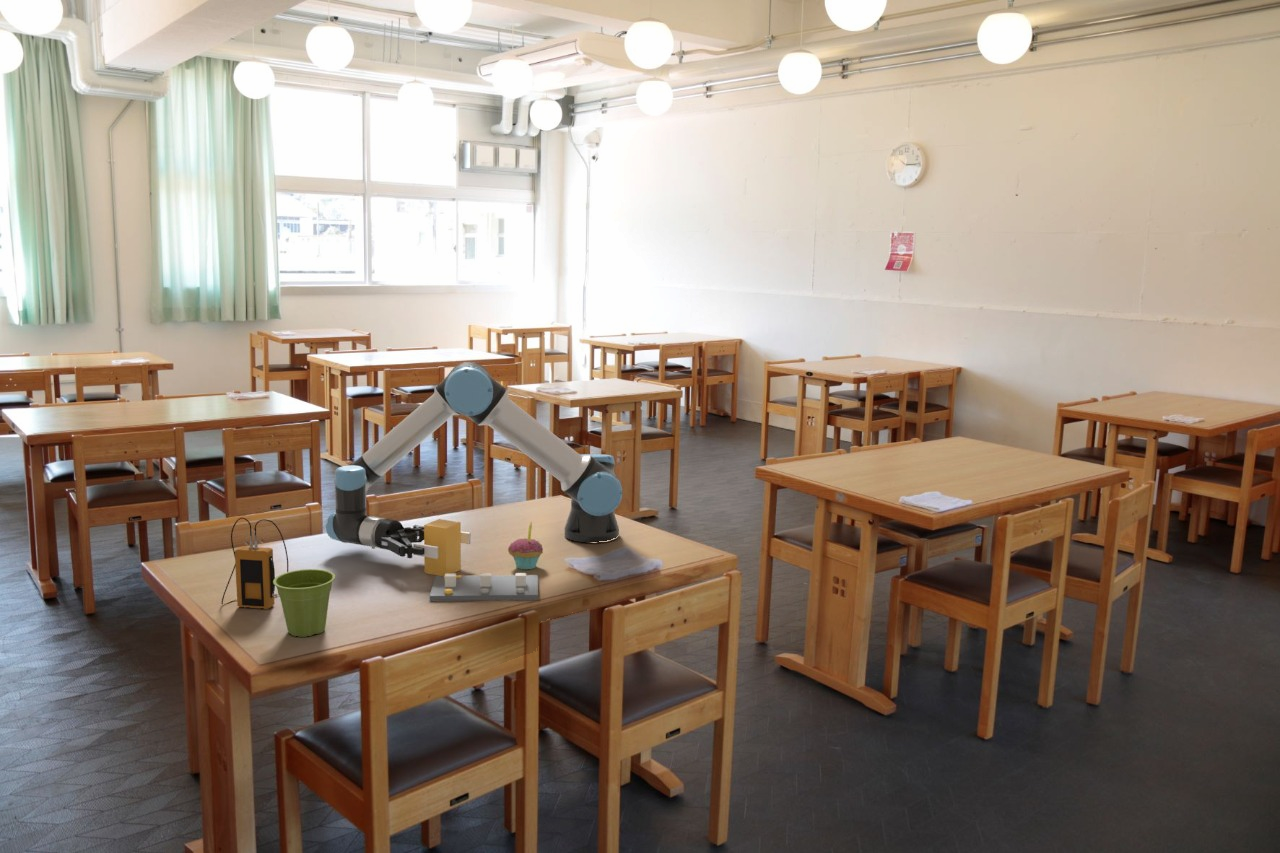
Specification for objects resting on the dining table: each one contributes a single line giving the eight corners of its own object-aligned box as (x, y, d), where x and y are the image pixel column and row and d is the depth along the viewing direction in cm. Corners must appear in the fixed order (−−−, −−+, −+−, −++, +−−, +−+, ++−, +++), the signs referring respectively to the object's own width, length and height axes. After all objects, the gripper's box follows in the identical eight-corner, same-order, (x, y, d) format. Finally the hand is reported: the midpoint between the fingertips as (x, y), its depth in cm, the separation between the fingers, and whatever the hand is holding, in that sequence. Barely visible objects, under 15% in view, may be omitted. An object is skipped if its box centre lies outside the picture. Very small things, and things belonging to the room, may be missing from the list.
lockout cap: (439, 565, 245) (439, 518, 243) (460, 569, 243) (460, 522, 241) (424, 572, 240) (424, 524, 238) (446, 576, 237) (445, 528, 235)
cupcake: (549, 567, 247) (550, 520, 245) (523, 574, 241) (524, 526, 238) (527, 559, 252) (527, 513, 250) (501, 566, 246) (501, 519, 244)
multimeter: (305, 595, 222) (302, 509, 219) (285, 611, 212) (282, 521, 209) (242, 591, 223) (239, 505, 220) (220, 607, 214) (215, 517, 210)
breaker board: (537, 579, 237) (537, 564, 236) (538, 599, 223) (538, 584, 223) (435, 580, 234) (435, 565, 234) (429, 601, 221) (429, 585, 220)
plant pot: (273, 624, 205) (271, 572, 203) (333, 617, 209) (331, 566, 207) (277, 645, 194) (274, 590, 192) (339, 637, 199) (338, 584, 197)
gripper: (413, 535, 259) (482, 547, 251) (349, 561, 237) (422, 574, 228) (413, 507, 258) (482, 518, 249) (348, 530, 235) (422, 543, 227)
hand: (454, 545), depth 239 cm, fingers open, 13 cm apart
